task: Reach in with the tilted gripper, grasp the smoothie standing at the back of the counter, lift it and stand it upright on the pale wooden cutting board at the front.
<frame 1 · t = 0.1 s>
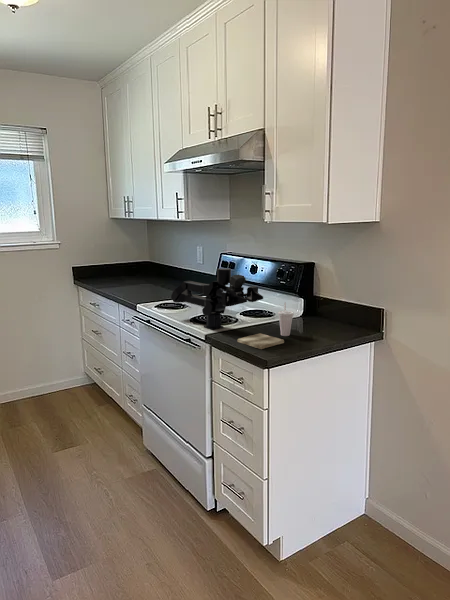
hand: (255, 299, 181), 17 cm above the worktop, tool horizontal, fingers open, 9 cm apart
cutting board: (260, 342, 180), on the worktop
smoothie: (285, 335, 191), on the worktop
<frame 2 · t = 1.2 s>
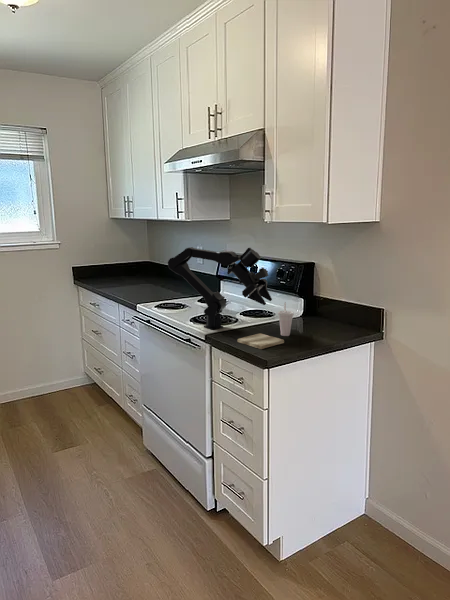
hand: (268, 302, 191), 13 cm above the worktop, tool tilted 45°, fingers open, 9 cm apart
nothing on the worktop moved.
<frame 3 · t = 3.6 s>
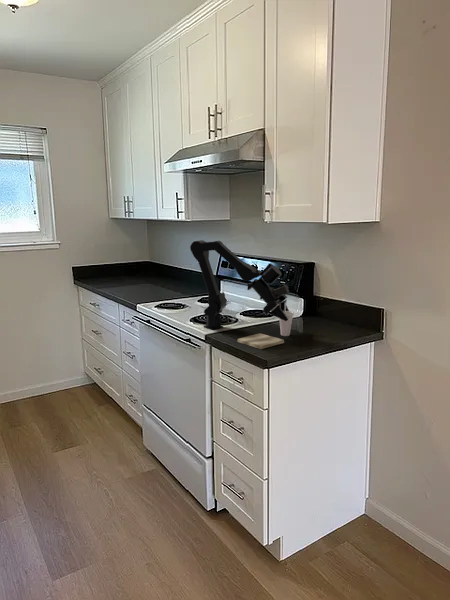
hand: (289, 318, 190), 7 cm above the worktop, tool tilted 45°, fingers closed on smoothie, 6 cm apart
smoothie: (285, 335, 191), on the worktop, touching gripper
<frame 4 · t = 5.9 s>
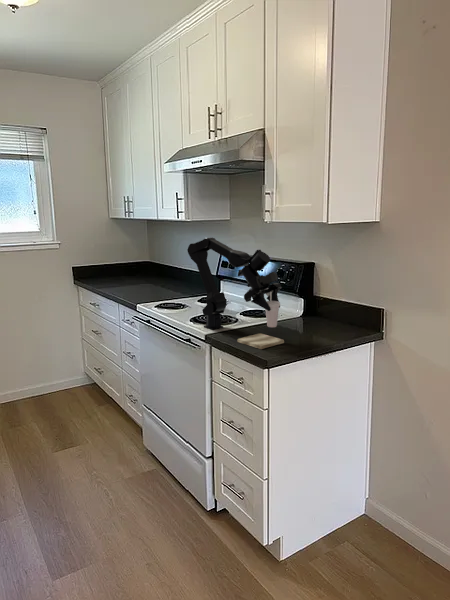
hand: (274, 309, 179), 13 cm above the worktop, tool tilted 45°, fingers closed on smoothie, 6 cm apart
smoothie: (272, 326, 182), point 6 cm above the worktop, touching gripper
when the fingers open (9 cm above the worktop, at t = 8.1 s): smoothie drops 1 cm, resting on cutting board.
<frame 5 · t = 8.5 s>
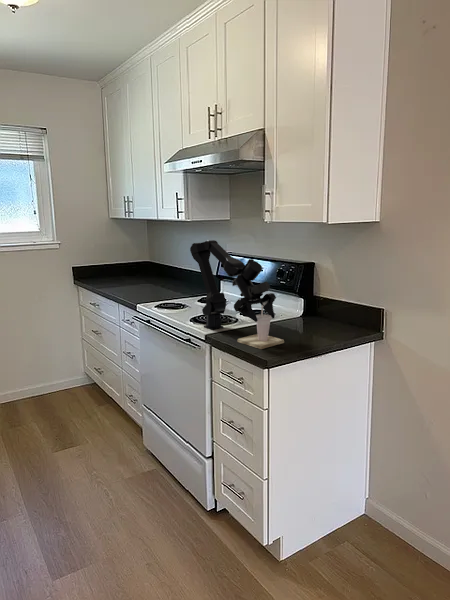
hand: (265, 319, 177), 10 cm above the worktop, tool tilted 45°, fingers open, 9 cm apart
smoothie: (262, 340, 180), point 1 cm above the worktop, touching cutting board
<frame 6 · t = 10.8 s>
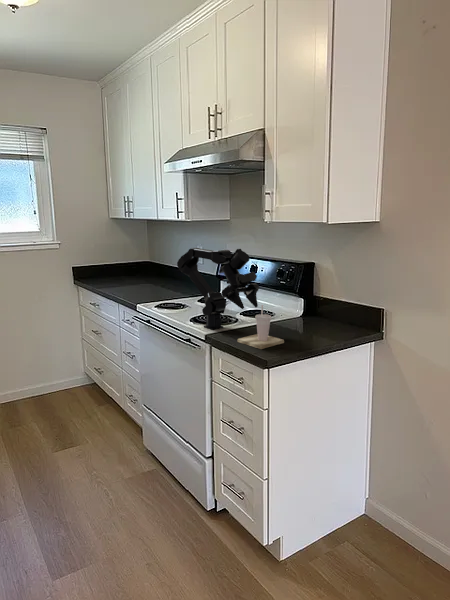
hand: (250, 307, 185), 13 cm above the worktop, tool tilted 40°, fingers open, 9 cm apart
nothing on the worktop moved.
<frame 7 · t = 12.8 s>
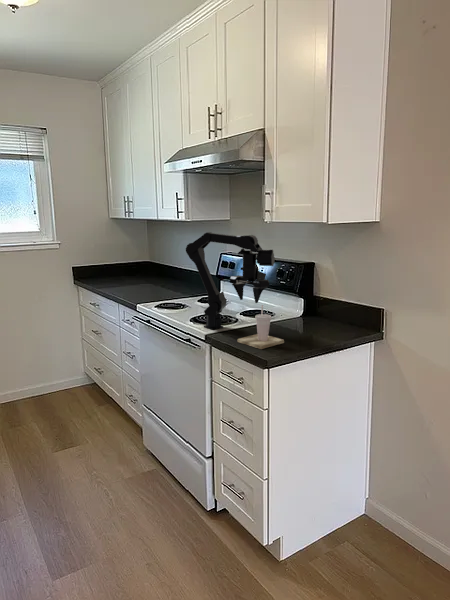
hand: (248, 301, 195), 13 cm above the worktop, tool pointing down, fingers open, 9 cm apart
nothing on the worktop moved.
at the end: smoothie inside the target area on the cutting board (0.9 cm from its centre), point 1.0 cm above the cutting board's base; smoothie tilted 0°; the gripper is holding nothing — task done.
